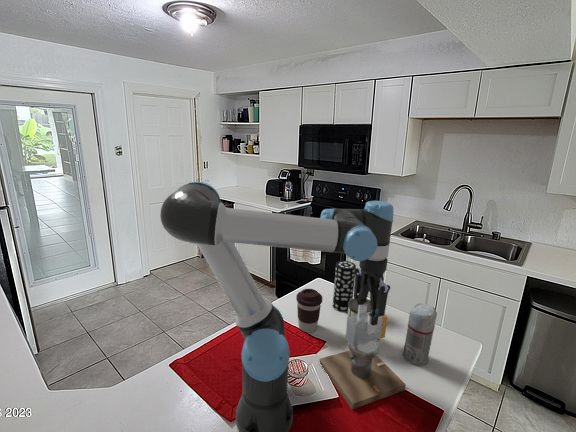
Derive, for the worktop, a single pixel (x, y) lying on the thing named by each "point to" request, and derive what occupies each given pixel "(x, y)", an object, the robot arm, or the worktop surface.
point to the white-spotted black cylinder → (343, 285)
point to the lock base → (361, 378)
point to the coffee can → (355, 308)
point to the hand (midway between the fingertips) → (365, 327)
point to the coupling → (364, 335)
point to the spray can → (419, 334)
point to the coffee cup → (308, 309)
